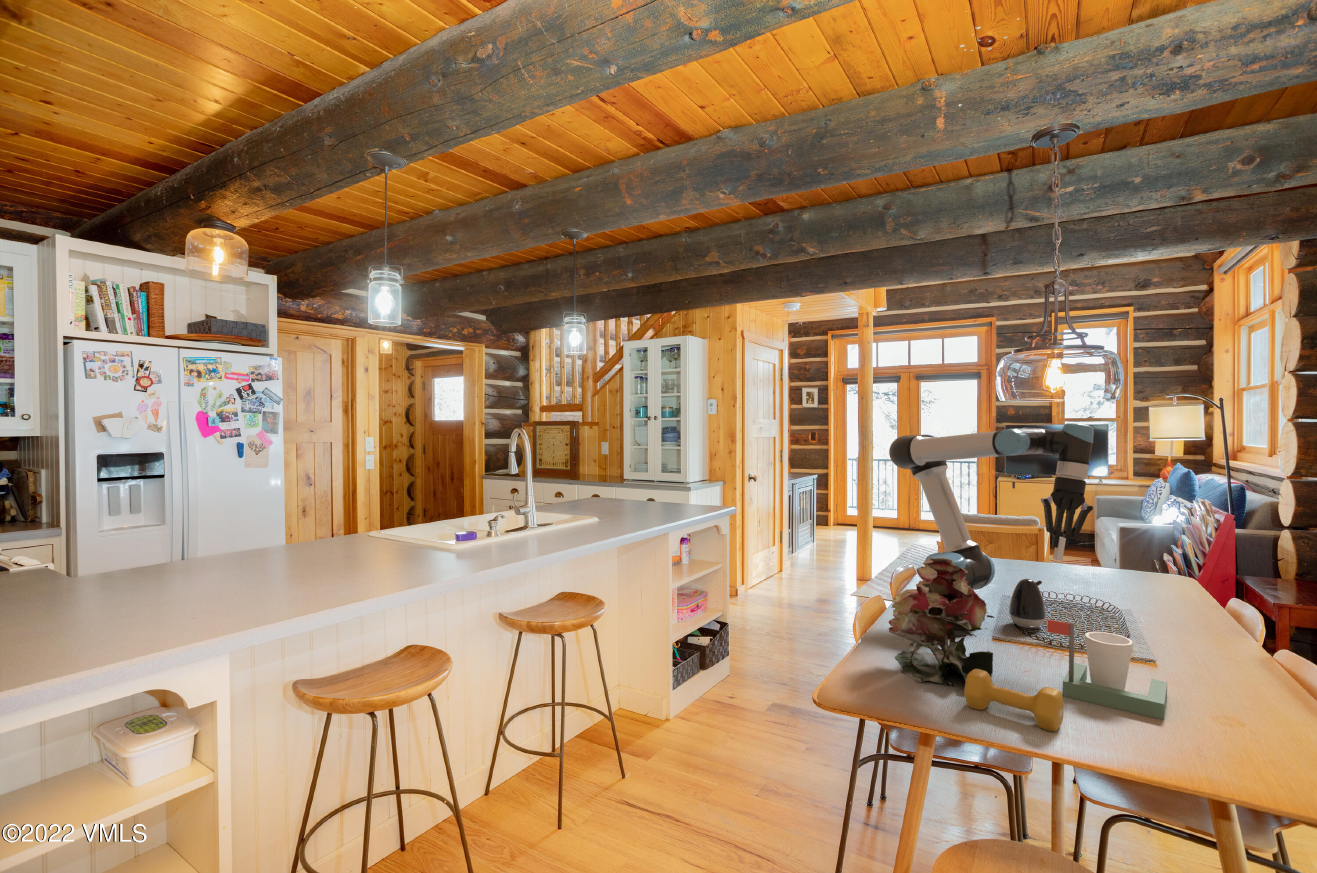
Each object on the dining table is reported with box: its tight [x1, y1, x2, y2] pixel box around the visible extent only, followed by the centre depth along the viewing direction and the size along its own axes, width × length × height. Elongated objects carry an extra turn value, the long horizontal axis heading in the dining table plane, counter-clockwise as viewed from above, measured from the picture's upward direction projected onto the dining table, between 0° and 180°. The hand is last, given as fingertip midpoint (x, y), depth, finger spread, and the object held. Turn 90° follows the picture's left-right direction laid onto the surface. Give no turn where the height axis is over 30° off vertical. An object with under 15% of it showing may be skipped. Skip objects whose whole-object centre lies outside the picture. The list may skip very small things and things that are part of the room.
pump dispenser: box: [1008, 578, 1047, 630], centre depth 203 cm, size 10×10×15 cm
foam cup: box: [1084, 631, 1134, 691], centre depth 154 cm, size 10×9×13 cm
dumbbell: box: [963, 669, 1065, 732], centre depth 141 cm, size 19×9×8 cm, turn 45°
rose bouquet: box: [888, 557, 995, 691], centre depth 167 cm, size 26×29×30 cm
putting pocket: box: [1046, 619, 1168, 721], centre depth 152 cm, size 16×22×18 cm
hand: (1057, 559), depth 180 cm, fingers closed
